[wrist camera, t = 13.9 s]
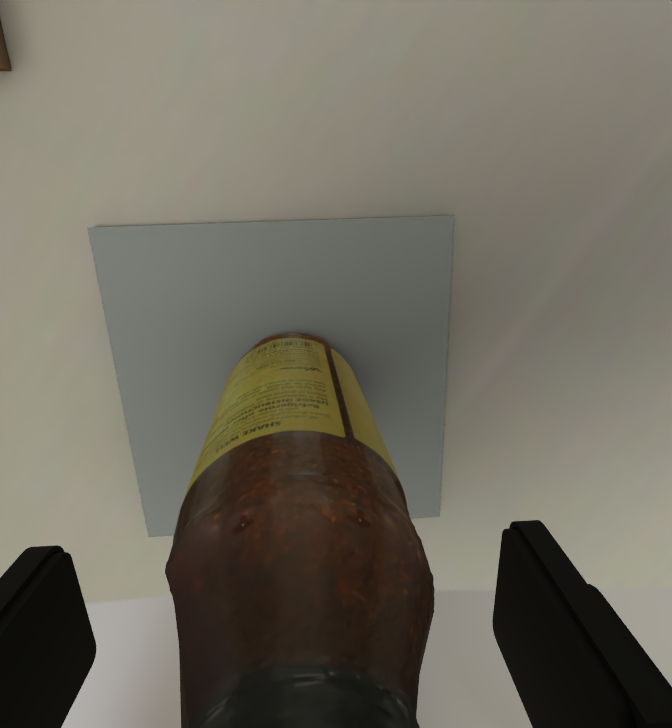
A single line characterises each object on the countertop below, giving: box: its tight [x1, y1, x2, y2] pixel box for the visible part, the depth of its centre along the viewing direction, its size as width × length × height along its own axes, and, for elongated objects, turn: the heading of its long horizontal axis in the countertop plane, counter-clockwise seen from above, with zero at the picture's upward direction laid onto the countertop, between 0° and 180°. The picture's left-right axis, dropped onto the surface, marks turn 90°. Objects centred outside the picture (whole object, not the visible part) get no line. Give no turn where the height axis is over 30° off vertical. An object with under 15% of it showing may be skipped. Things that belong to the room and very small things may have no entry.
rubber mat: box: [87, 215, 454, 537], centre depth 22 cm, size 16×16×1 cm
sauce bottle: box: [165, 333, 434, 728], centre depth 12 cm, size 6×6×20 cm
